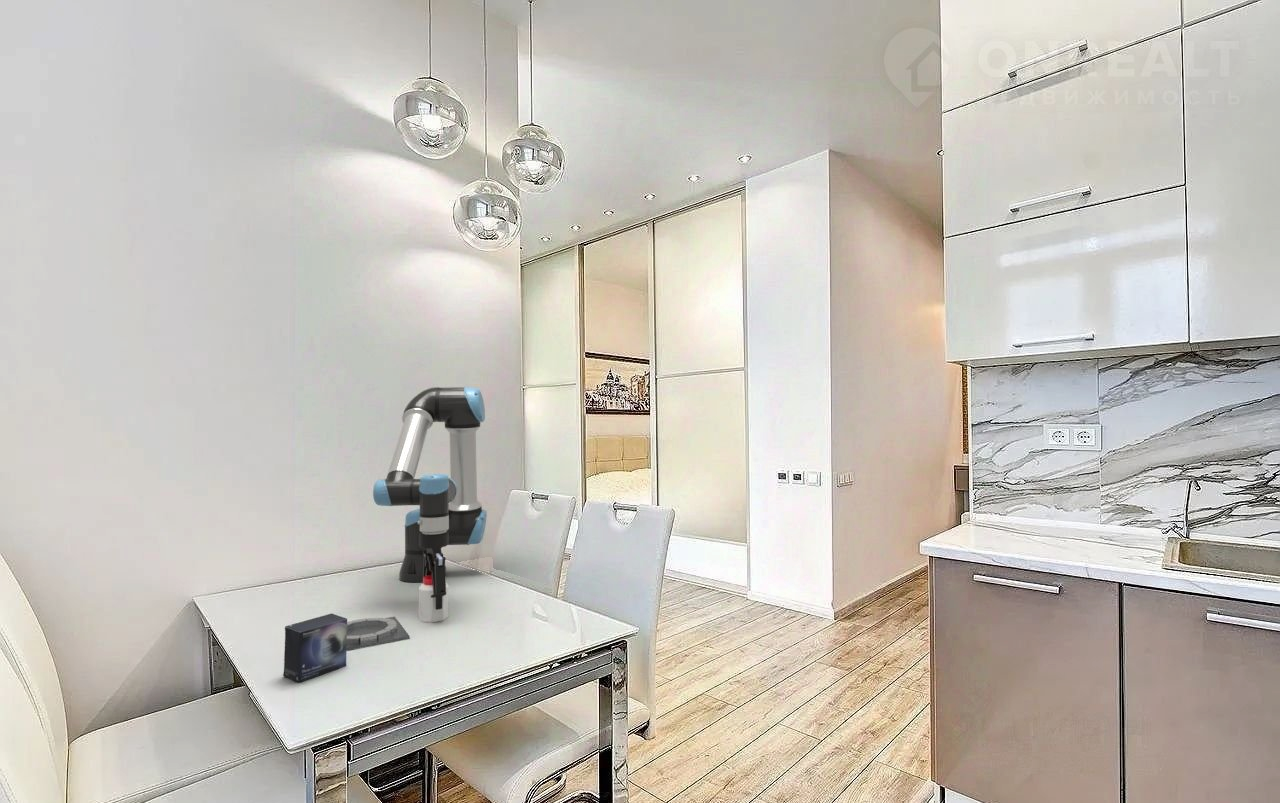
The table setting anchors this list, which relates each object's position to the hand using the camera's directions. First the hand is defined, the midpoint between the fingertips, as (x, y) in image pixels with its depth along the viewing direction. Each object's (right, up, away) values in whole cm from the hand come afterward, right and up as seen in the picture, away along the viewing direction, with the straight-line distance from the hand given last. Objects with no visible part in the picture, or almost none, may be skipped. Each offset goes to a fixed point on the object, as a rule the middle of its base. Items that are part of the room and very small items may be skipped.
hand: (433, 616), depth 164 cm
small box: (-13, 0, -35) cm, 37 cm away
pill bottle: (0, 0, 0) cm, 0 cm away
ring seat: (-13, 0, -13) cm, 18 cm away
